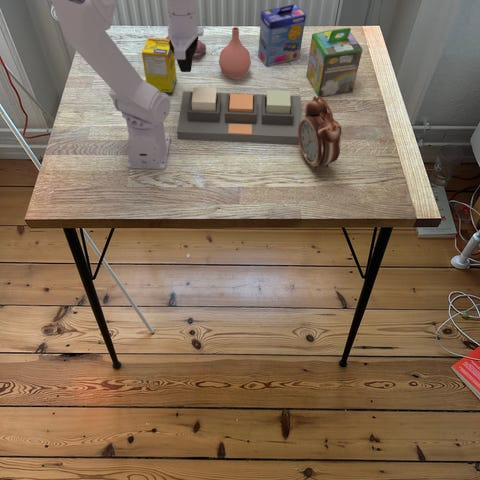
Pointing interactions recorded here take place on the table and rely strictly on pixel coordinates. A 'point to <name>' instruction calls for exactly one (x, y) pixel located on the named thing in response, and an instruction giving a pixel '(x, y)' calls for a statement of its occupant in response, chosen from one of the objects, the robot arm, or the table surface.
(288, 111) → the sage button
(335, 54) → the chalk box
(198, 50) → the red toy car
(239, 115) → the control board
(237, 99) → the terracotta button
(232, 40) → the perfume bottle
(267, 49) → the blue cardboard box
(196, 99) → the cream button
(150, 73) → the supplement box
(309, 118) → the alarm clock
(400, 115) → the table surface
